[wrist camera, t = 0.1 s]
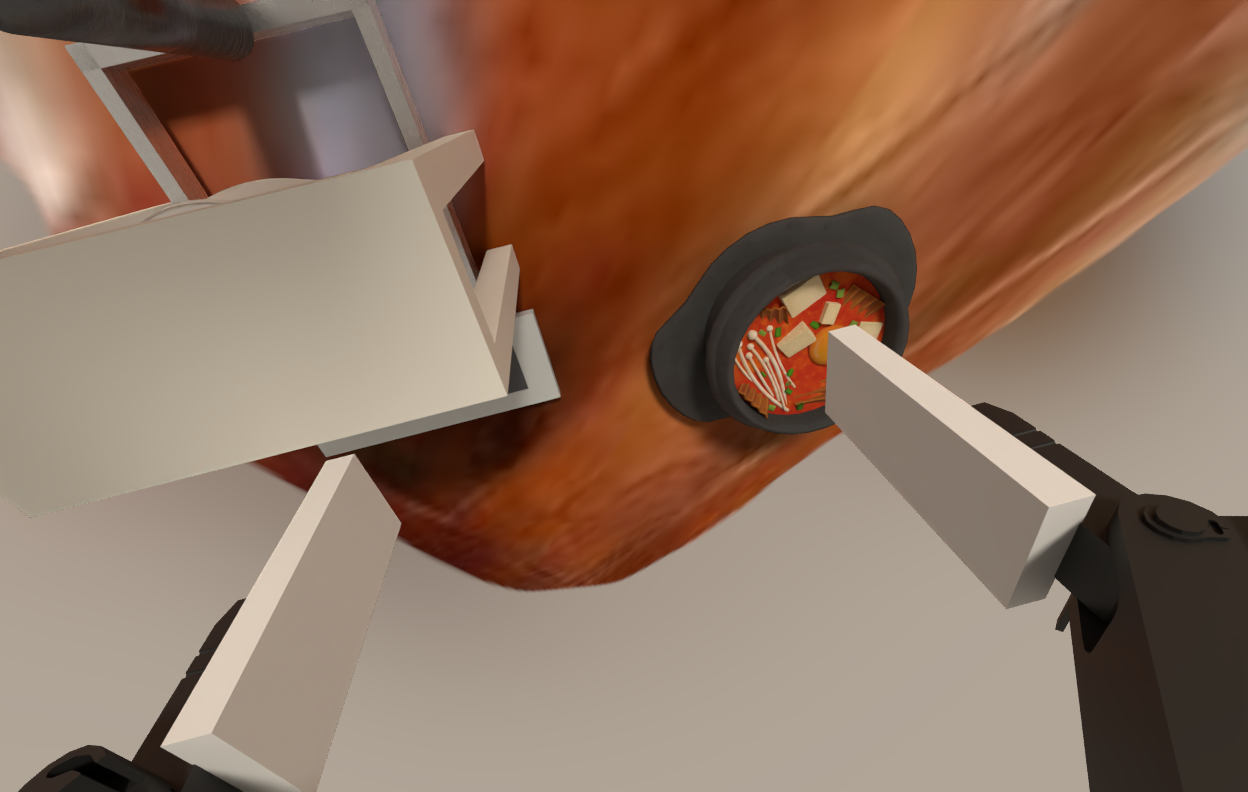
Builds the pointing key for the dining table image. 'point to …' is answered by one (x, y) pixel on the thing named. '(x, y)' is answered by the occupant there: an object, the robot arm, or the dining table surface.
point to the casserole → (784, 318)
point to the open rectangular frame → (255, 333)
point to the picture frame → (208, 28)
